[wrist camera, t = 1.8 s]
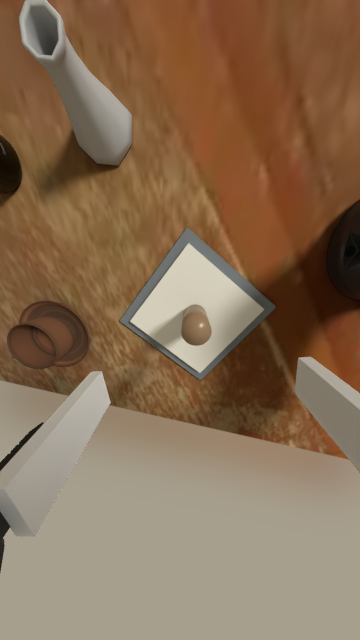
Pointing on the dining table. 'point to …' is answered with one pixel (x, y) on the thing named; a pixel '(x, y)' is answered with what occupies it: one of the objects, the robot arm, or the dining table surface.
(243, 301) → the board
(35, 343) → the cup and saucer
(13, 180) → the supplement bottle
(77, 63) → the flask
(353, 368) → the dining table surface
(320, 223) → the dining table surface
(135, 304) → the mat
